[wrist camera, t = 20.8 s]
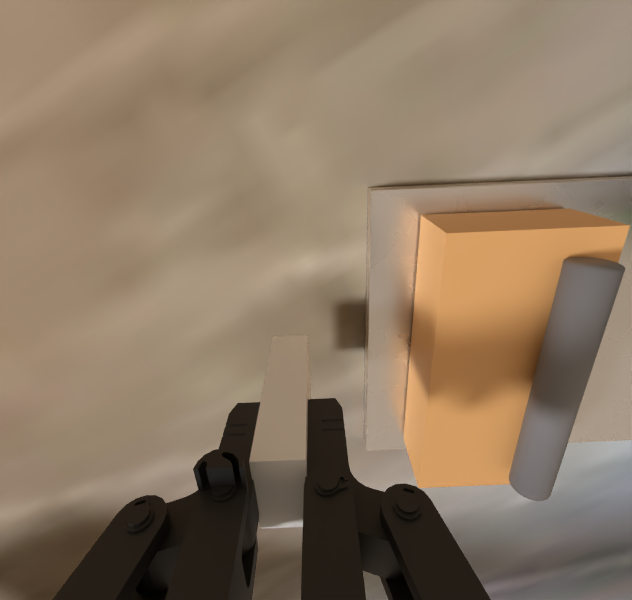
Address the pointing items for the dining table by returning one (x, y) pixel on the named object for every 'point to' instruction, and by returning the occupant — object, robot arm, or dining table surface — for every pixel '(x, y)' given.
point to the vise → (400, 280)
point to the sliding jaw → (505, 342)
